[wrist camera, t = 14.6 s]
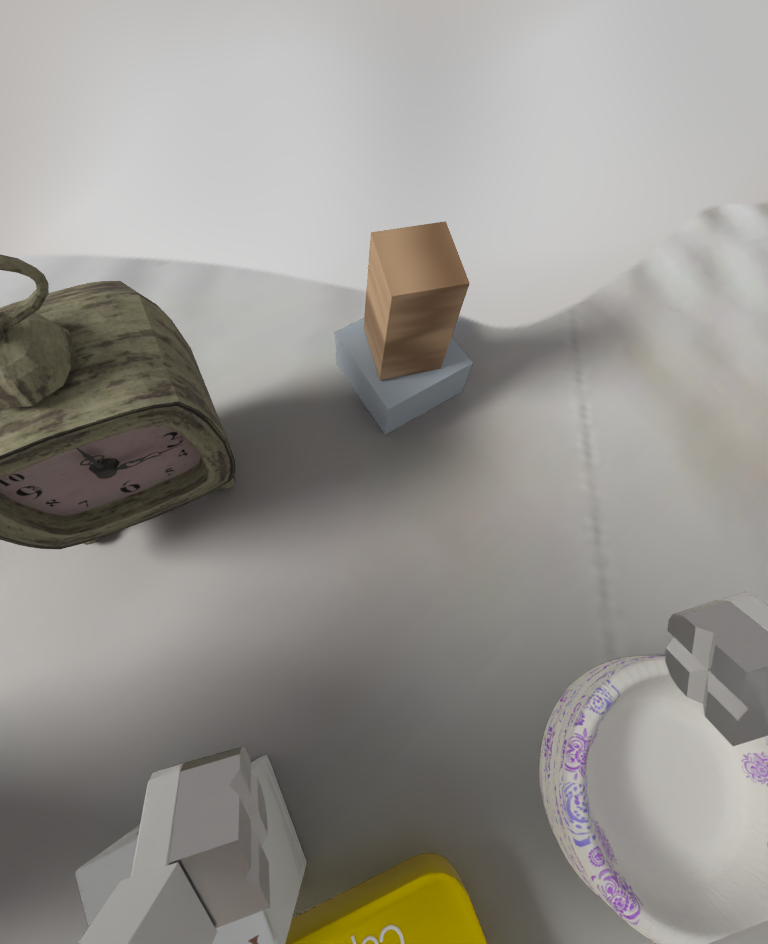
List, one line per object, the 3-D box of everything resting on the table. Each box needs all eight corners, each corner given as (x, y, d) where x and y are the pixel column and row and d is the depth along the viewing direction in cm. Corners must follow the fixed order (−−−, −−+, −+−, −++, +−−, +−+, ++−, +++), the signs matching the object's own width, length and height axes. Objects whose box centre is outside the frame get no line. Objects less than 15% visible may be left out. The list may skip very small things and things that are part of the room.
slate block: (385, 436, 46) (388, 409, 42) (336, 365, 48) (334, 332, 44) (461, 393, 48) (473, 362, 43) (411, 326, 50) (417, 291, 45)
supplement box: (268, 750, 38) (228, 787, 26) (309, 865, 35) (286, 964, 23) (163, 803, 36) (69, 868, 24) (199, 926, 34) (116, 1064, 22)
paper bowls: (779, 856, 37) (886, 903, 29) (574, 939, 35) (634, 1013, 27) (677, 631, 42) (748, 623, 34) (492, 692, 39) (524, 697, 32)
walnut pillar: (379, 380, 42) (391, 296, 33) (363, 327, 44) (371, 232, 34) (440, 368, 43) (469, 283, 34) (422, 317, 45) (445, 221, 35)
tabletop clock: (74, 567, 41) (-302, 431, 18) (46, 465, 44) (-316, 226, 20) (257, 493, 44) (141, 288, 20) (219, 400, 46) (79, 124, 23)
